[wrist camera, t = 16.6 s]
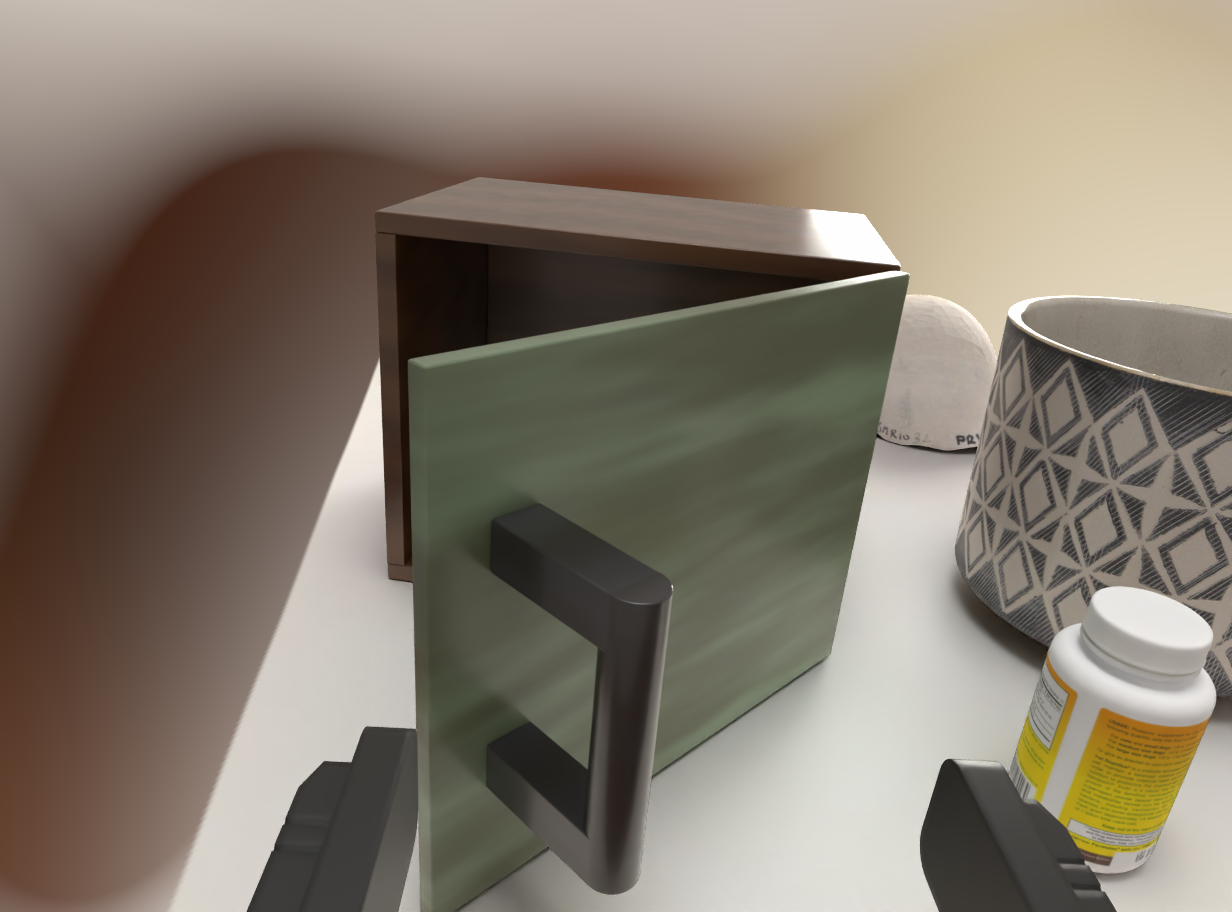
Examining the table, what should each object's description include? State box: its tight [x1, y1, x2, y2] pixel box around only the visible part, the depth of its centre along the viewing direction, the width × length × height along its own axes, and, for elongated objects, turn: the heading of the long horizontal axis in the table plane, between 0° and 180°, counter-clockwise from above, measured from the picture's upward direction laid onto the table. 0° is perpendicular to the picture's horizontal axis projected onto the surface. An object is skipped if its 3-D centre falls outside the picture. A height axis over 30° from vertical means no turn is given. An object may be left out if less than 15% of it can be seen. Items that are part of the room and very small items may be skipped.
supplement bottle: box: [1008, 586, 1216, 873], centre depth 34 cm, size 6×6×10 cm
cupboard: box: [375, 177, 901, 582], centre depth 51 cm, size 16×24×20 cm, turn 81°
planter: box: [955, 296, 1232, 697], centre depth 47 cm, size 19×19×16 cm
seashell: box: [877, 295, 997, 450], centre depth 78 cm, size 15×14×15 cm
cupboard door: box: [408, 270, 910, 912], centre depth 32 cm, size 7×24×20 cm, turn 134°
